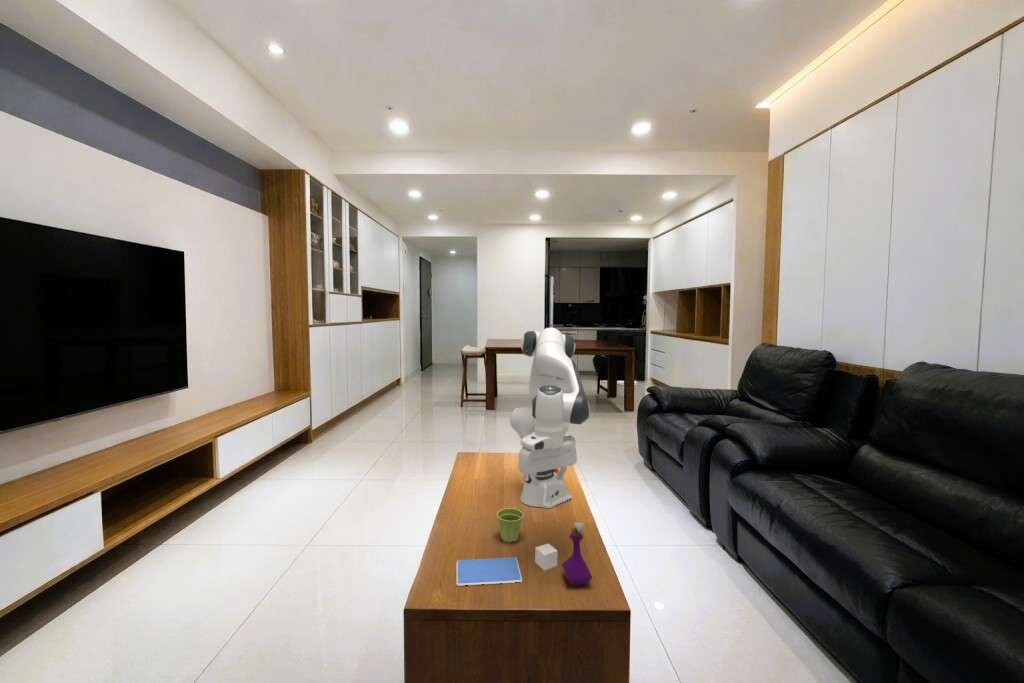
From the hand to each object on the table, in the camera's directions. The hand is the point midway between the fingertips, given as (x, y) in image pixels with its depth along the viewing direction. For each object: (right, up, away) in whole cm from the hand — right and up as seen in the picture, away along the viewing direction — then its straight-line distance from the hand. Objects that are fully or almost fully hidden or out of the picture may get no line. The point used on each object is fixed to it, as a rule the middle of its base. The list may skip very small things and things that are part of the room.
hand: (547, 482), depth 133 cm
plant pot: (-12, -25, +17) cm, 33 cm away
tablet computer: (-18, -27, -3) cm, 33 cm away
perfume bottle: (+8, -27, -7) cm, 29 cm away
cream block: (0, -26, +2) cm, 26 cm away
